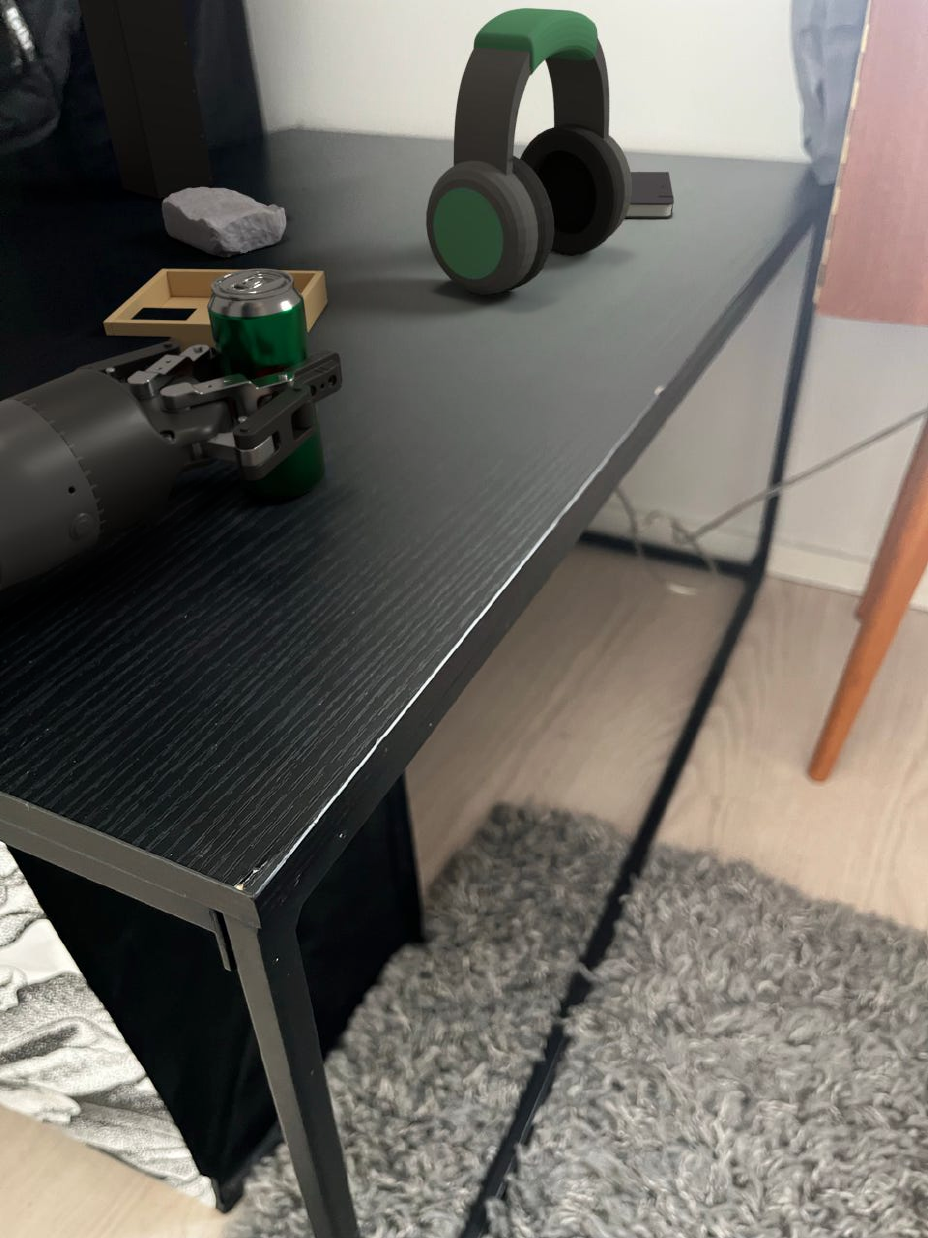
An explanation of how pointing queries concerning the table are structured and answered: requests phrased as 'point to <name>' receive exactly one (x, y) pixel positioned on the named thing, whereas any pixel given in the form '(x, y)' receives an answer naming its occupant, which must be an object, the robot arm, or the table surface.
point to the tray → (197, 304)
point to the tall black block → (148, 94)
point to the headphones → (528, 156)
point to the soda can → (265, 360)
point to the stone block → (222, 221)
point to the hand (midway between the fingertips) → (298, 356)
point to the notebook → (650, 195)
